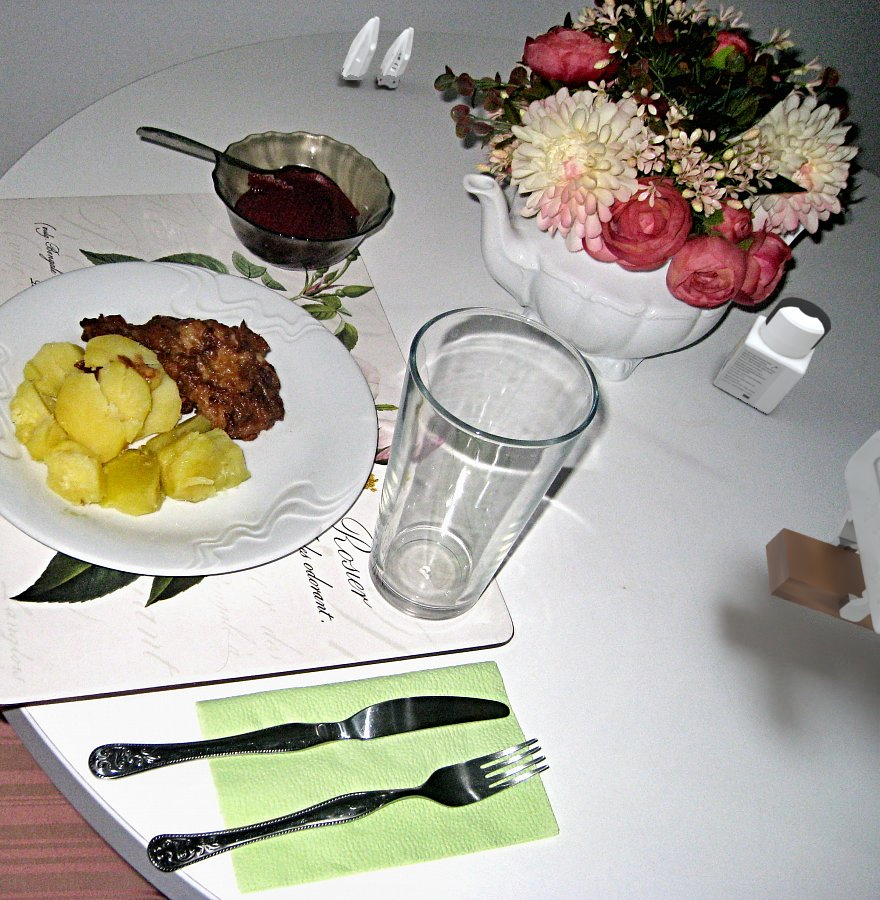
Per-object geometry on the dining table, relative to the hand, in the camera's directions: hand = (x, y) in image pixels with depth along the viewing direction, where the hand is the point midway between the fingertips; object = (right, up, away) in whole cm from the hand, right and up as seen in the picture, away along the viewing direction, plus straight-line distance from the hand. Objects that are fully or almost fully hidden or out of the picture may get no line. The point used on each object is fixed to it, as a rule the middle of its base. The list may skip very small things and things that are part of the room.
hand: (840, 581), depth 83 cm
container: (+9, +20, +35) cm, 41 cm away
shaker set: (-37, +74, +70) cm, 108 cm away
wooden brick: (0, -1, +1) cm, 2 cm away
